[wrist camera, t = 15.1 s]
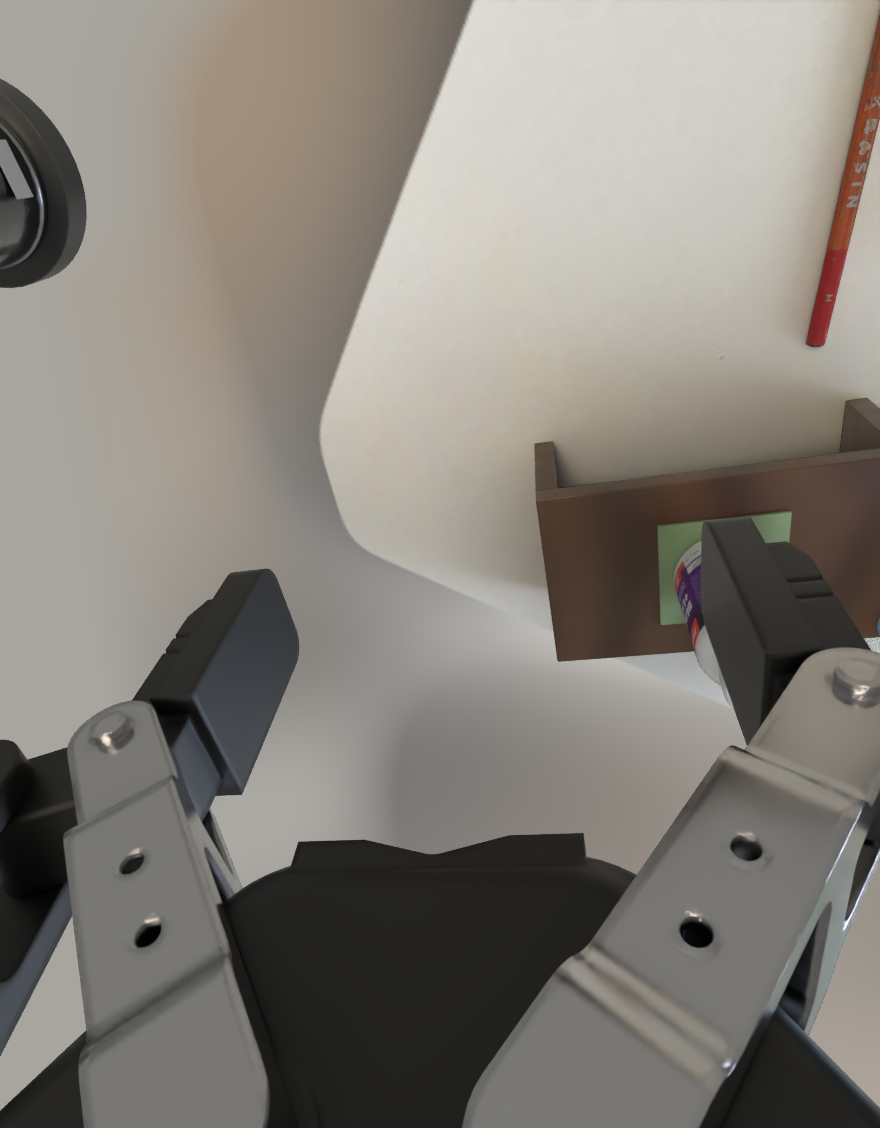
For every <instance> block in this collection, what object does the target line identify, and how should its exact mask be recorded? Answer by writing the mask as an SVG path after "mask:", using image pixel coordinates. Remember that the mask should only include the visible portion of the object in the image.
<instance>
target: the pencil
mask: <svg viewBox="0 0 880 1128" xmlns="http://www.w3.org/2000/svg"><path fill="white" fill-rule="evenodd" d="M879 119H880V17H879V22H878V26H877V30H876V35H875V39H874V44H873V48H872V53H871V57H870V62H869V66H868V70H867V75H866V79H865V84H864V88H863V93H862V97H861V101H860V106H859V110H858V115H857V119H856V124H855V128H854V133H853V137H852V141H851V146H850V150H849V155H848V159H847V164H846V168H845V172H844V177H843V181H842V186H841V190H840V195H839V199H838V204H837V208H836V212H835V217H834V221H833V226H832V230H831V235H830V239H829V243H828V248H827V252H826V257H825V261H824V266H823V270H822V275H821V279H820V283H819V288H818V292H817V297H816V301H815V306H814V310H813V314H812V319H811V323H810V328H809V332H808V337H807V341H806V344H807V345H809V346H811V347H820V346H823V345H824V344H825V341H826V337H827V333H828V329H829V325H830V320H831V316H832V312H833V308H834V304H835V300H836V296H837V292H838V288H839V283H840V279H841V275H842V271H843V267H844V263H845V259H846V255H847V251H848V246H849V242H850V238H851V234H852V230H853V226H854V222H855V218H856V214H857V210H858V205H859V201H860V197H861V193H862V189H863V185H864V181H865V177H866V173H867V168H868V164H869V160H870V156H871V152H872V148H873V144H874V140H875V136H876V132H877V127H878V123H879Z"/></svg>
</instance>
